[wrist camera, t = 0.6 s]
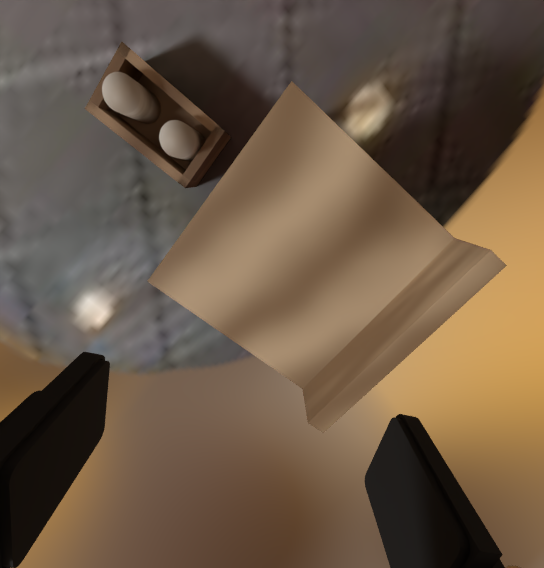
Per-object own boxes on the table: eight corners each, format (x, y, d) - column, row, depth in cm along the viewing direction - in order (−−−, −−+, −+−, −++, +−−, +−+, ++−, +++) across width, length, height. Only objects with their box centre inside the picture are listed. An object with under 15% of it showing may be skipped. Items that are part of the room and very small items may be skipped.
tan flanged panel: (204, 233, 34) (124, 300, 15) (280, 130, 30) (297, 58, 12) (296, 303, 36) (323, 433, 18) (374, 216, 33) (506, 265, 15)
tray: (111, 118, 30) (74, 104, 24) (143, 61, 28) (112, 33, 23) (196, 186, 32) (180, 188, 26) (231, 137, 31) (222, 128, 25)
